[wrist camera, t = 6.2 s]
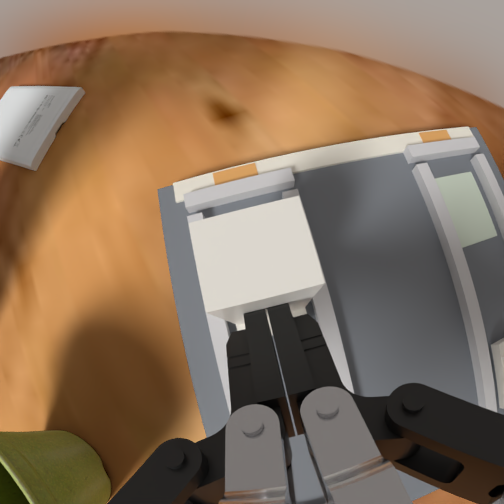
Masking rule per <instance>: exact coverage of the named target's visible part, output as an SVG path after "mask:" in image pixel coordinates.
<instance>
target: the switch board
mask: <svg viewBox="0 0 504 504" xmlns="http://www.w3.org/2000/svg"><path fill="white" fill-rule="evenodd" d="M295 196H299V198H300V201H301V204H302V207H303V210H304V213H305V217H306V220H307V223H308V226H309V230H310V233H311V236H312V239H313V243H314V246H315V249H316V253H317V256H318V260H319V263H320V267H321V270H322V274H323V277H324V281H325V284H324V285H323V286H322V287H321V289H320V290H319V291H318V292H317V293H316V295H315V296H314V297H313V298H312V299H311V300H310V302H309V303H308V304H307V305H306V306H305V309H306V312H307V314H308V315H310V316H311V317H312V318H313V319H315V320H316V321H317V322H318V324H319V326H320V329H321V331H322V334H323V336H324V339H325V341H326V343H327V346H328V348H329V351H330V353H331V356H332V358H333V361H334V363H335V366H336V368H337V371H338V374H339V376H340V379H341V381H342V383H343V385H344V386H345V387H346V388H347V389H348V390H349V391H351V392H352V393H354V394H356V395H359V396H364V397H379V396H390V394H391V393H392V392H393V391H394V390H395V389H396V388H398V387H399V386H401V385H403V384H407V383H421V384H424V385H426V386H429V387H431V388H434V389H436V390H439V391H441V392H444V393H447V394H449V395H452V396H454V397H457V398H459V399H462V400H465V401H467V402H470V403H473V404H475V405H478V406H481V407H483V408H486V409H489V410H491V411H494V412H497V413H500V414H503V415H504V409H502V408H500V407H499V397H498V388H497V380H496V373H495V367H494V360H493V355H492V349H491V344H493V343H495V342H497V341H499V340H500V339H502V338H504V180H503V178H502V176H501V173H500V171H499V169H498V167H497V165H496V163H495V161H494V159H493V157H492V155H491V153H490V151H489V149H488V147H487V146H486V144H485V142H484V140H483V138H482V136H481V135H480V133H479V131H478V129H477V128H476V127H474V128H469V127H458V128H448V129H439V130H430V131H421V132H413V133H406V134H399V135H391V136H385V137H378V138H372V139H365V140H359V141H353V142H348V143H342V144H337V145H331V146H326V147H321V148H315V149H310V150H305V151H301V152H296V153H291V154H286V155H282V156H277V157H273V158H268V159H264V160H260V161H255V162H251V163H247V164H243V165H239V166H235V167H231V168H227V169H223V170H219V171H215V172H211V173H208V174H204V175H200V176H196V177H193V178H189V179H186V180H182V181H179V182H175V183H173V185H171V186H168V187H164V188H161V189H158V197H159V205H160V212H161V219H162V226H163V233H164V240H165V246H166V253H167V259H168V265H169V271H170V276H171V282H172V288H173V293H174V299H175V304H176V309H177V314H178V319H179V324H180V329H181V334H182V338H183V343H184V348H185V352H186V357H187V361H188V365H189V370H190V374H191V378H192V382H193V387H194V391H195V395H196V399H197V403H198V406H199V410H200V414H201V418H202V422H203V425H204V429H205V433H206V436H207V437H210V436H212V435H214V434H216V433H217V432H218V431H220V430H221V429H222V428H223V427H224V426H225V425H226V423H227V421H228V419H229V417H230V414H231V402H230V390H229V378H228V365H227V352H226V344H227V341H228V339H229V337H230V334H231V332H235V331H237V328H236V324H234V323H231V322H229V321H226V320H224V319H221V318H218V317H216V316H213V315H211V314H208V313H206V311H205V306H204V301H203V296H202V292H201V287H200V282H199V277H198V272H197V267H196V262H195V256H194V251H193V246H192V240H191V235H190V229H189V224H188V223H191V222H195V221H198V220H202V219H206V218H210V217H214V216H217V215H221V214H225V213H229V212H233V211H237V210H241V209H245V208H249V207H253V206H257V205H261V204H265V203H270V202H274V201H278V200H282V199H286V198H291V197H295ZM272 338H273V342H274V346H275V350H276V355H277V359H278V363H279V367H280V372H281V376H282V380H283V384H284V389H285V393H286V397H287V402H288V406H289V410H290V414H291V419H292V423H293V427H294V431H295V436H294V437H290V438H289V440H290V445H291V450H292V462H293V471H294V479H295V487H296V496H297V504H326V501H325V499H324V496H323V493H322V490H321V487H320V485H319V482H318V479H317V476H316V473H315V470H314V468H313V465H312V462H311V459H310V456H309V452H308V447H307V443H306V439H305V435H304V434H302V435H297V431H296V427H295V423H294V419H293V415H292V411H291V407H290V403H289V399H288V395H287V391H286V387H285V382H284V378H283V374H282V370H281V366H280V361H279V357H278V353H277V349H276V345H275V341H274V336H273V335H272ZM396 471H397V472H398V474H399V476H400V479H401V481H402V483H403V485H404V487H405V489H406V491H407V493H408V495H409V497H410V499H411V501H413V500H416V499H418V498H420V497H422V496H424V495H427V494H429V493H431V492H433V491H435V490H437V489H439V488H437V487H435V486H432V485H430V484H428V483H425V482H423V481H421V480H419V479H416V478H414V477H412V476H410V475H408V474H406V473H404V472H401V471H399V470H397V469H396Z"/></svg>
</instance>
